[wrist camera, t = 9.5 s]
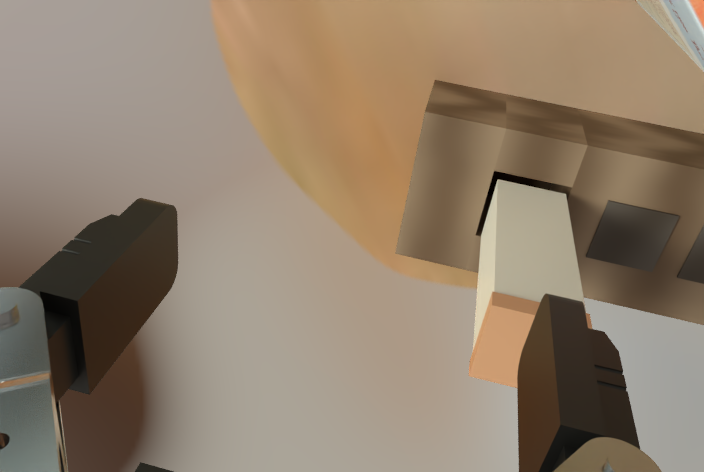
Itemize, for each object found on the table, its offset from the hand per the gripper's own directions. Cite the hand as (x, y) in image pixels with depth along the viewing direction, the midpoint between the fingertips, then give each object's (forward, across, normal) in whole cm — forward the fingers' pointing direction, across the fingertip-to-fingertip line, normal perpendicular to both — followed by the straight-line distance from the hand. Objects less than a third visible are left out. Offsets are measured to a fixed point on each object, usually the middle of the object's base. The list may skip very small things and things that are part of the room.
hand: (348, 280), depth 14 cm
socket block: (+30, -11, +10) cm, 34 cm away
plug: (+24, -7, +10) cm, 27 cm away
